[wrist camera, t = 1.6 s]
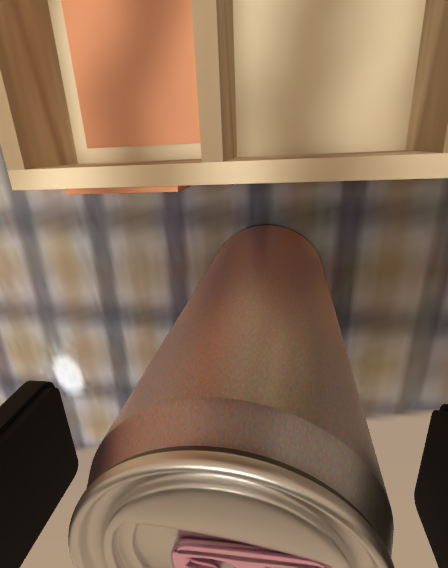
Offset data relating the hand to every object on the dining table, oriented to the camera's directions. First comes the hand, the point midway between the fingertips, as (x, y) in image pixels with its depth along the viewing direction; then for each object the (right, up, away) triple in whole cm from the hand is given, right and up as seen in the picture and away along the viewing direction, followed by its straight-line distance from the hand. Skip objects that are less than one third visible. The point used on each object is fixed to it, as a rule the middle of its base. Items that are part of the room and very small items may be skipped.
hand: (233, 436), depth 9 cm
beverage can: (+2, +4, +11) cm, 12 cm away
